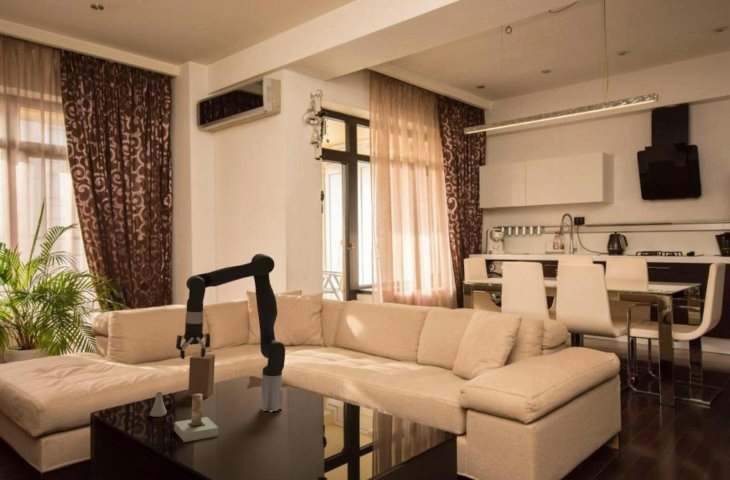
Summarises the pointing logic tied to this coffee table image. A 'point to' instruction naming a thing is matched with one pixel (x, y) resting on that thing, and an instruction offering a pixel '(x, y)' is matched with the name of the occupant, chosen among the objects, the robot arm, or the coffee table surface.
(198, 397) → the peg
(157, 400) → the flask
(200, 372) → the wooden block
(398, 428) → the coffee table surface
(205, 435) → the white flat square block
